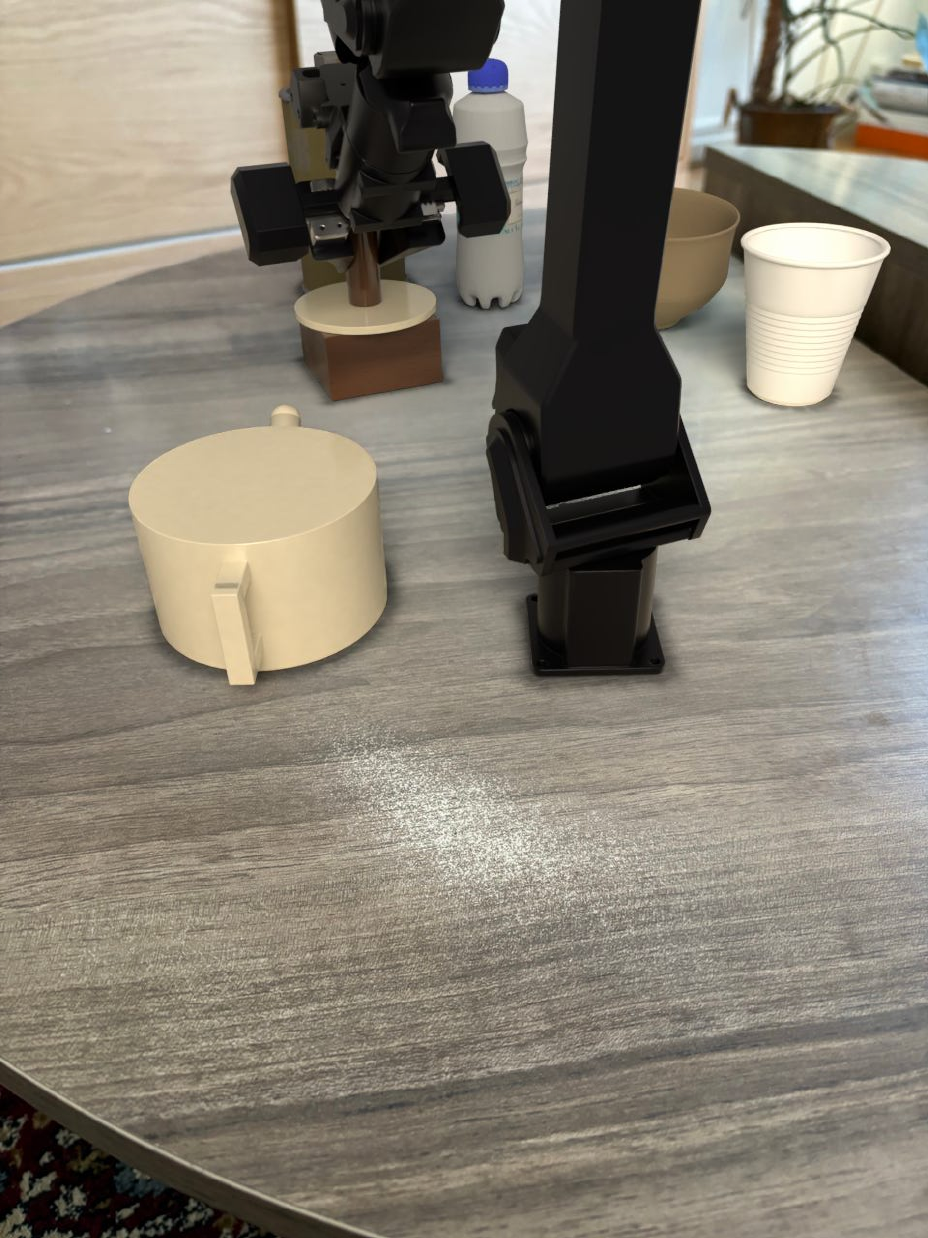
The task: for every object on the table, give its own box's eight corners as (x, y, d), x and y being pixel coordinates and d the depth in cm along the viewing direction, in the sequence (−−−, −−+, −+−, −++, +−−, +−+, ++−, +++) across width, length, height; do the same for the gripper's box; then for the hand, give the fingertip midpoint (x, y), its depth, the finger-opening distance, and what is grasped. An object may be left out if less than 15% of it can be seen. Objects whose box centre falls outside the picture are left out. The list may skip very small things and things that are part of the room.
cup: (704, 404, 74) (723, 252, 67) (740, 358, 81) (761, 216, 74) (842, 429, 70) (877, 270, 63) (868, 378, 77) (901, 230, 70)
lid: (435, 333, 73) (431, 240, 69) (285, 336, 73) (273, 244, 69) (437, 284, 82) (434, 200, 78) (304, 288, 82) (294, 203, 78)
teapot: (376, 705, 47) (362, 574, 43) (117, 710, 48) (77, 580, 43) (397, 499, 63) (389, 389, 59) (203, 504, 63) (180, 393, 59)
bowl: (612, 359, 81) (620, 232, 75) (558, 308, 91) (562, 192, 85) (751, 340, 84) (770, 216, 78) (685, 293, 94) (697, 179, 88)
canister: (288, 279, 100) (259, 51, 88) (385, 264, 103) (370, 42, 91) (323, 312, 92) (296, 66, 80) (426, 294, 95) (416, 55, 83)
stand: (442, 381, 78) (440, 319, 75) (331, 401, 76) (324, 337, 73) (406, 343, 85) (402, 284, 82) (303, 360, 83) (296, 300, 80)
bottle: (520, 314, 90) (522, 63, 78) (447, 311, 91) (438, 63, 79) (531, 290, 95) (534, 51, 83) (462, 287, 96) (456, 51, 84)
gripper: (494, 8, 65) (443, 157, 80) (209, 27, 60) (211, 183, 75) (542, 161, 64) (481, 284, 79) (255, 194, 59) (247, 319, 74)
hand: (357, 264), depth 77 cm, fingers closed on lid, 3 cm apart
